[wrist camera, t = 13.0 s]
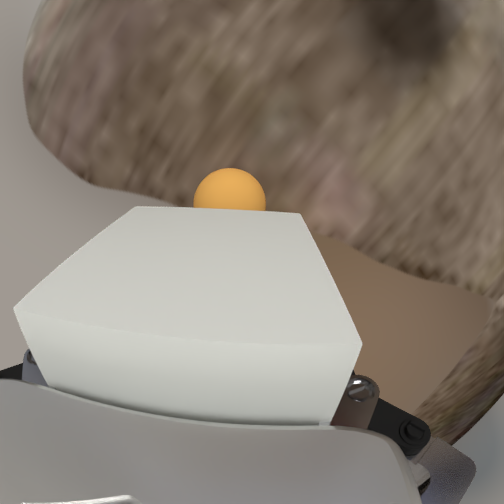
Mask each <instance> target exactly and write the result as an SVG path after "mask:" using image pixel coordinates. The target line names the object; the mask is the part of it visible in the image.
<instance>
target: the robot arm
mask: <svg viewBox="0 0 504 504" xmlns="http://www.w3.org/2000/svg"><path fill="white" fill-rule="evenodd" d="M379 393H380V391H379V387H378V385H377V384H376V383H375V382H374V381H373V380H372V379H370V378H368V377H366V376H362V375H355V373H354V370H353V371H352V373H351V376H350V378H349V381H348V383H347V386H346V388H345V391H344V393H343V395H342V398H341V400H340V402H339V405H338V407H337V409H336V411H335V414H334V416H333V418H332V420H331V421H329V422H319V424H318V426H273V425H243V424H227V423H215V422H205V421H196V420H188V419H180V418H173V417H167V416H161V415H155V414H149V413H144V412H139V411H134V410H129V409H124V408H120V407H116V406H111V405H107V404H103V403H99V402H95V401H92V400H88V399H84V398H81V397H78V396H74V395H71V394H67V393H64V392H61V391H58V390H56V388H55V387H52V386H50V385H48V384H47V382H46V381H45V379H44V377H43V375H42V373H41V371H40V369H39V367H38V365H37V363H36V361H35V359H34V357H33V355H32V353H31V351H30V349H28V350H27V351H26V353H25V354H24V359H23V363H22V364H19V365H16V366H13V367H10V368H7V369H4V370H1V371H0V504H459V502H460V501H461V499H462V498H463V496H464V494H465V492H466V491H467V489H468V487H469V486H470V484H471V482H472V480H473V478H474V477H475V474H476V465H475V463H474V461H473V460H472V459H471V458H469V457H468V456H466V455H465V454H463V453H462V452H460V451H459V450H457V449H455V448H454V447H452V446H451V445H449V444H448V443H446V442H445V441H443V440H442V439H440V438H439V437H437V438H436V439H434V438H433V437H431V432H430V429H429V427H428V425H427V424H426V423H425V422H424V421H422V420H421V419H419V418H417V417H415V416H413V415H411V414H409V413H407V412H405V411H403V410H401V409H399V408H397V407H395V406H393V405H391V404H389V403H388V402H386V401H384V400H382V399H380V398H379Z"/></svg>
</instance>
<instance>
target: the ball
mask: <svg viewBox="0 0 504 504" xmlns="http://www.w3.org/2000/svg"><path fill="white" fill-rule="evenodd" d="M194 208H213V209H235V210H254V211H265V208H266V200H265V194H264V191H263V189H262V187H261V185H260V184H259V182H258V181H257V180H256V179H255V178H254V177H253V176H252V175H250V174H249V173H247V172H245V171H243V170H240V169H235V168H225V169H220V170H217V171H215V172H213V173H211V174H209V175H208V176H207V177H206V178H204V180H203V181H202V182H201V183H200V185H199V186H198V188H197V190H196V193H195V196H194Z"/></svg>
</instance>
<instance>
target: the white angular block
mask: <svg viewBox="0 0 504 504" xmlns="http://www.w3.org/2000/svg"><path fill="white" fill-rule="evenodd" d="M13 310H14V312H15V315H16V317H17V320H18V323H19V325H20V328H21V330H22V333H23V335H24V337H25V340H26V342H27V344H28V346H29V349H30V351H31V353H32V355H33V357H34V359H35V361H36V363H37V365H38V367H39V369H40V371H41V373H42V375H43V377H44V379H45V381H46V382H47V384H48V385H50V386H52V387H55V388H56V390H58V391H61V392H64V393H67V394H71V395H74V396H78V397H81V398H84V399H88V400H92V401H95V402H99V403H103V404H107V405H111V406H116V407H120V408H124V409H129V410H134V411H139V412H144V413H149V414H155V415H161V416H167V417H173V418H180V419H188V420H196V421H205V422H215V423H227V424H243V425H273V426H318V424H319V422H329V421H331V420H332V418H333V416H334V414H335V411H336V409H337V407H338V405H339V402H340V400H341V398H342V395H343V393H344V391H345V388H346V386H347V383H348V381H349V378H350V376H351V373H352V371H353V368H354V365H355V363H356V360H357V358H358V355H359V352H360V349H361V347H362V341H361V339H360V337H359V335H358V332H357V330H356V328H355V325H354V323H353V321H352V319H351V317H350V314H349V312H348V310H347V308H346V306H345V304H344V301H343V299H342V297H341V295H340V293H339V291H338V289H337V286H336V285H335V282H334V280H333V278H332V276H331V274H330V272H329V270H328V268H327V266H326V264H325V262H324V260H323V258H322V256H321V254H320V252H319V250H318V248H317V246H316V244H315V242H314V240H313V238H312V236H311V234H310V232H309V230H308V228H307V226H306V224H305V222H304V220H303V218H302V216H301V215H300V213H286V212H270V211H254V210H235V209H213V208H187V207H148V206H147V207H145V206H143V207H142V206H136V207H134V208H133V209H131V210H130V211H129V212H127V213H126V214H125V215H123V216H122V217H120V218H119V219H118V220H116V221H115V222H113V223H112V224H111V225H109V226H108V227H107V228H105V229H104V230H103V231H101V232H100V233H99V234H98V235H96V236H95V237H94V238H92V239H91V240H90V241H89V242H88V243H86V244H85V245H84V246H83V247H81V248H80V249H79V250H77V251H76V252H75V253H74V254H72V255H71V256H70V257H69V258H68V259H66V260H65V261H64V262H63V263H62V264H60V266H58V267H57V268H56V269H55V270H53V271H52V272H51V273H50V274H49V275H48V276H47V277H46V278H44V279H43V280H42V281H41V282H40V283H39V284H38V285H37V286H36V287H34V288H33V289H32V290H31V291H30V292H29V293H28V294H27V295H26V296H25V297H24V298H23V299H22V300H20V302H19V303H17V304H16V305H15V306H14V307H13Z"/></svg>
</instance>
